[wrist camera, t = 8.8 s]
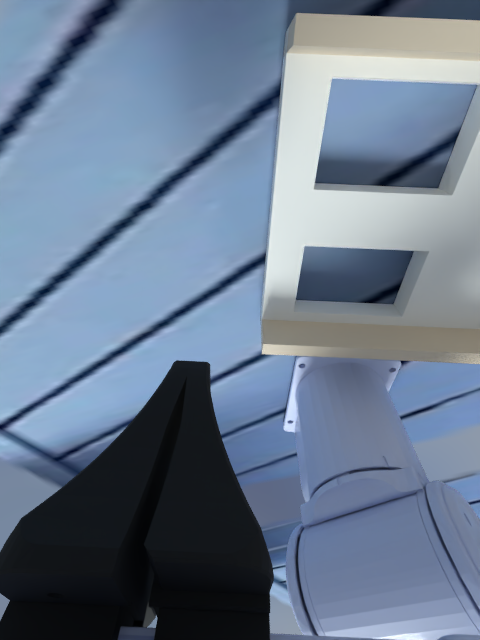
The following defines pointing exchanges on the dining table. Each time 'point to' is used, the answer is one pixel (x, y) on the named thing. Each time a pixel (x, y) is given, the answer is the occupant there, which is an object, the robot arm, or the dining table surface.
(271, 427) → the dining table surface
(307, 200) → the board
